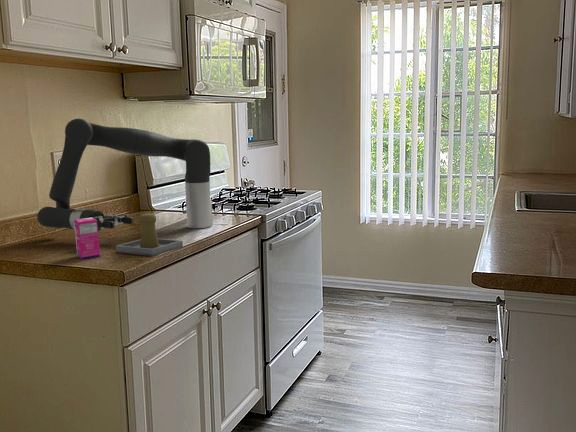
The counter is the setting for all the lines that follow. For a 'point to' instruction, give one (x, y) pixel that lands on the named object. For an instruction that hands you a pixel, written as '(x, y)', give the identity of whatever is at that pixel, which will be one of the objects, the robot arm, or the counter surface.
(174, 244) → the tray
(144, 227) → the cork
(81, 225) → the supplement box
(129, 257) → the counter surface
